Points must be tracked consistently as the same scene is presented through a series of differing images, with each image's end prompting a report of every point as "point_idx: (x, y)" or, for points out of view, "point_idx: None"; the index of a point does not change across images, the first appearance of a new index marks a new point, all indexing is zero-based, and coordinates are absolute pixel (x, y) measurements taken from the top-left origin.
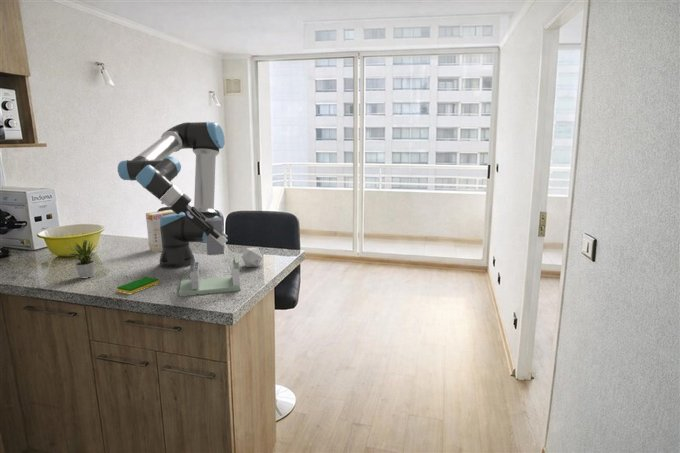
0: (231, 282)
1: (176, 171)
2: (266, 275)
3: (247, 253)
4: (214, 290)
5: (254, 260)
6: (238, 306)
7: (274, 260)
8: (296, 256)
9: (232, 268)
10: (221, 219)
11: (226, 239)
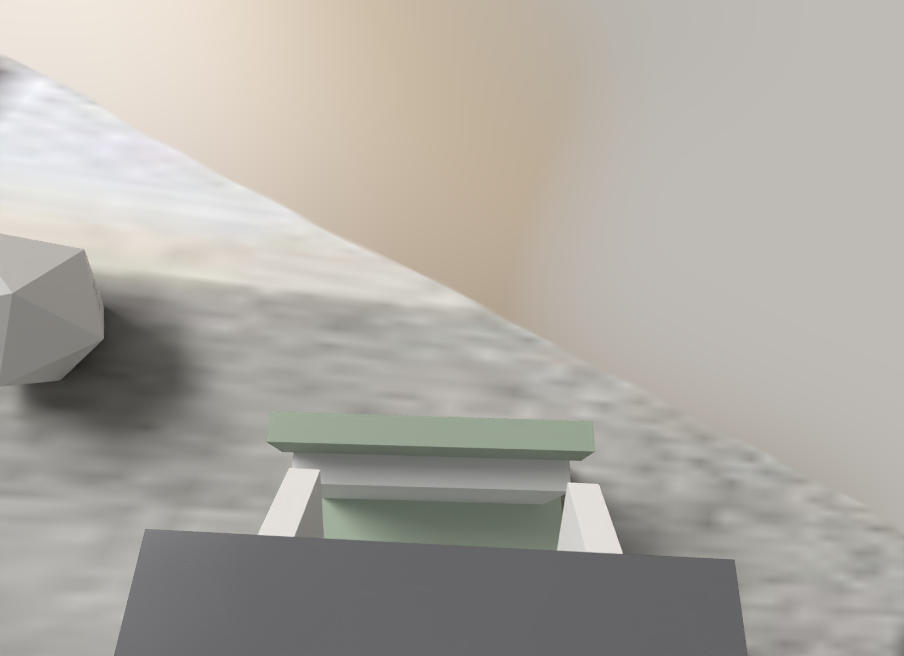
0: (455, 511)
1: None
2: (318, 280)
3: (15, 328)
4: None
5: (96, 304)
6: (832, 496)
7: (25, 195)
8: (23, 75)
9: (566, 487)
10: (570, 565)
11: (602, 500)
